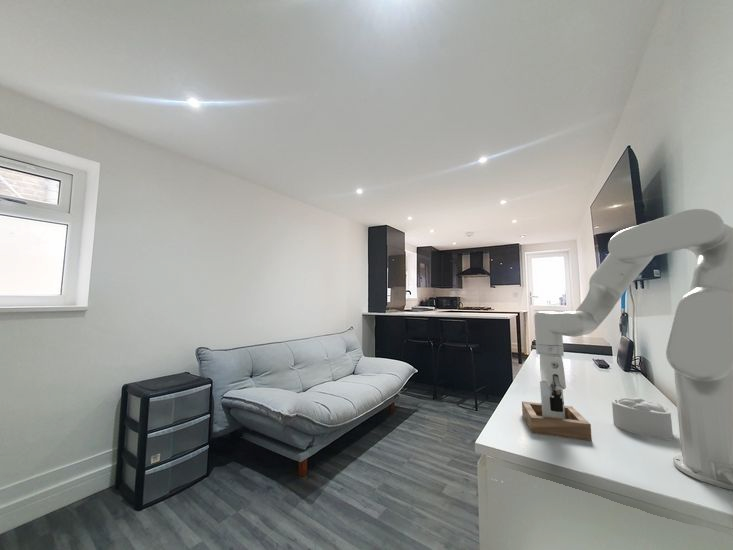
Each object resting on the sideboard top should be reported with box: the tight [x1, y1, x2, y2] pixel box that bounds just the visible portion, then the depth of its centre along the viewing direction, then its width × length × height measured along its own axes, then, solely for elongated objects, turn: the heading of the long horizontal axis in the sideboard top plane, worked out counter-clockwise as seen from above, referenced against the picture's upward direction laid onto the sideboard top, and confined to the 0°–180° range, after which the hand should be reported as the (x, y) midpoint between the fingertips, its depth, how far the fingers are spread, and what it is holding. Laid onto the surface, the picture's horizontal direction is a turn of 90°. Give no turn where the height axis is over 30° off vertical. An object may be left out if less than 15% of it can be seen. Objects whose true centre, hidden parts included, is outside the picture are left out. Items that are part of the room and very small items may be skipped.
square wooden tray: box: [521, 401, 593, 441], centre depth 91 cm, size 15×15×4 cm
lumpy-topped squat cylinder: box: [611, 397, 674, 441], centre depth 89 cm, size 10×13×9 cm
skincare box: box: [539, 380, 565, 419], centre depth 91 cm, size 6×4×12 cm
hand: (553, 406), depth 91 cm, fingers closed on skincare box, 7 cm apart
